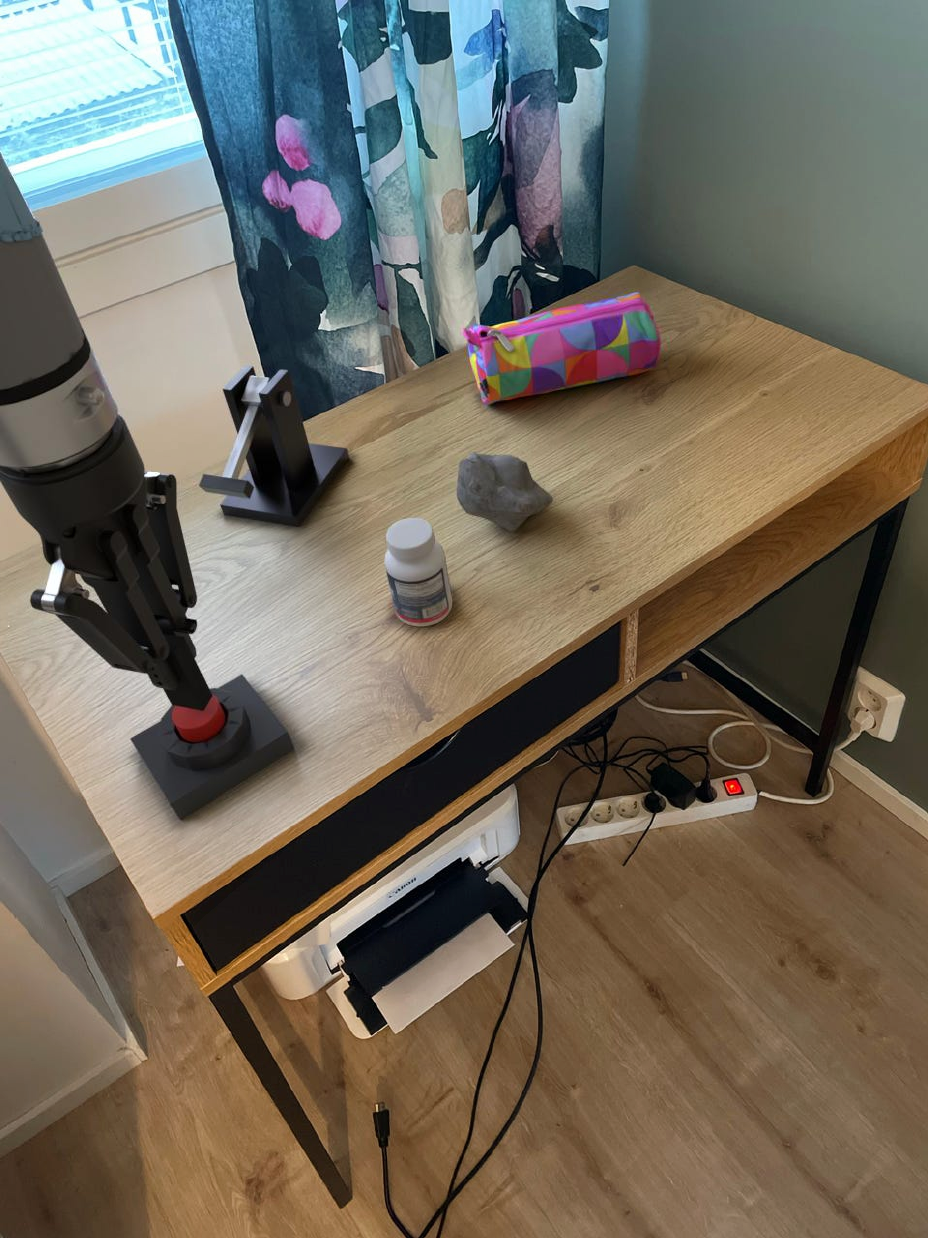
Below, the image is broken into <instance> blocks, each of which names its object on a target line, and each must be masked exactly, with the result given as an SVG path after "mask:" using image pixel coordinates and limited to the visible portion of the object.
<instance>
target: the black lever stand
mask: <svg viewBox="0 0 928 1238" xmlns="http://www.w3.org/2000/svg"><path fill="white" fill-rule="evenodd" d="M250 376H257V374H256V371H255V367H254V365H253V366H252V365H244V366H243V367H242V368H241V369H240V370H239V371H238V372H237V373H236V374H235V375H234V377H232V379H230V381H229V382H228V383H227V384H226V385H225V386H223V388H222V392H223V395H224V398H225V401H226V404H227V407H228V410H229V413H230V416H231V419H232V422H233V426H234V428H235V431H236V433H237V435H238V433H239V430H240V428H241V425H242V422H243V420H244V417H245V414H246V412H247V409H248V408H247V407H246V405H245V404H244V403H243V402H242V401H241V399H242V396H243V394H244V391H245V388H246V386H247V383H248V381H249V378H250ZM291 377H292V376H291V373H290V370H289V369H281V368H280V369H279V370H278V371H277V372H276V374H274V376H273V377H272V378H270V379H271V380H270V381H269V382H268V383H267V385H266V386H265V387H264V388H263V389H262V390H261V391H260V392H259V397H260V400H261V403H262V407H263V410H264V413H265V415H261V418H260V421H259V423H258V426H257V429H256V431H255V434H254V437H253V439H252V442H251V445H250V447H249V450H248V453H247V455H246V458H245V460H246V464H247V466H248V471H247V472H246V473H245V474H244V475H243V476H242V478H241V480H248V481H249V482H250V483H251V484H252V485H253V486H254V489H253V492H252V495H251V497H250V499H247V498H241V497H234V496H228V495H226V496H225V498H224V499H223V501H222V502H221V503H220V504H219V506H220V510H221V512H222V514H223V515H226V516H232V517H238V518H244V519H250V520H255V521H261V522H268V523H272V524H273V523H274V524H279V525H285V526H291V527H297V528H299V527H301V525H302V524H303V522H304V521H305V519H306V518H307V517H308V515H309V514H310V513H311V512H312V510H313V509H314V507H315V506H316V504H317V503H318V502H319V500H320V499H321V498H322V496H323V495H324V494H325V492H326V491H327V489H328V488H329V487H330V485H331V484H332V482H334V480H335V478H336V477H337V476H338V474H339V473H340V472H341V470H342V469H343V468H344V467H345V464H346V463H347V462H348V460H349V459H350V455H349V452H348V451H349V450H348V448H346V447H341V446H334V445H326V444H317V443H310V442H309V439H308V436H307V432H306V429H305V425H304V422H303V418H302V414H301V410H300V406H299V402H298V400H297V396H296V392H295V388H294V385H293V380H292V378H291Z"/></svg>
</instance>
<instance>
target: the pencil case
mask: <svg viewBox="0 0 928 1238" xmlns="http://www.w3.org/2000/svg"><path fill="white" fill-rule="evenodd" d="M461 331H462V335H463V337H464V338H465V340H466V342H467V348H468V349H467V350H468V358H469V364H470V367H471V370H472V373H473V376H474V378H475V381H476V387H477V389H478V391H479V394H480V396H481V401H482V403H484V404H485V405H491V404H494V403H495V402H500V401H511V400H513V399H517V398H518V399H519V398H522V397H529V396H536V395H542V394H543V395H544V394H547V393H548V394H549V393H551V392H554V391H559V390H566V389H571V388H576V387H581V386H585V385H590V384H594V383H600V382H605V381H609V380H614V379H616V378H624V377H628V376H634V375H638V374H643V373H645V372H647V371H651V370H653V369H655V368H656V366H657V365H658V362H659V360H660V356H661V347H662V343H661V342H662V341H661V333H660V330H659V327H658V325H657V322H656V321H655V318H654V314H653V313H652V310H651V308H650V306H649V303H648V302H645V301H644V300H643V296H642V294H641V293H640V292H639V291H636V292H632V293H629V294H625V295H619V296H617V297H612V298H606V299H601V300H599V301H597V302H586V303H580V304H574V305H567V306H564V307H559V308H556V309H552V310H547V311H545V312H541V313H537V314H535V315H531V316H528V317H523V318H520V319H517V320H512V321H507V322H502V323H498V324H495V325H492V326H489V325H485V324H483V325H482V324H474V325H473V324H472V325H471V326H470V327H469V328H468V330H467V328H465V327H463V328H462V329H461Z"/></svg>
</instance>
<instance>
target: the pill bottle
mask: <svg viewBox="0 0 928 1238" xmlns="http://www.w3.org/2000/svg"><path fill="white" fill-rule="evenodd" d="M385 539H386V540H385V541H386V545H387V550H386V552H385V555H384V569H385V573H386V577H387V581H388V587H389V590H390V594H391V600H392V603H393V604H392V605H393V608H394V612H395V614H396V616H397V617H398V619H399V620H400V621H401V622H402V623H405V624H406V625H409V626H413V627H429V626H433V625H435V624H438V623H440V622H441V621H443V620H444V619H445V618H446V617H447V616H448V615H449V614H450V612H451V610H452V608H453V594H452V593H453V592H452V587H451V583H450V578H449V571H448V565H447V559H446V554H445V549H444V547H443V546H442V544H441V543H440V542H439V541H438V540H437V539H436V536H435V531H434V528H433V526H432V524H431V523H430V521H427V520H425V519H424V518H420V517H406V518H403V519H399V520H397V521H395V522H394V523H393V524H392V525H390V526H389V528H388V529H387V531H386V534H385Z"/></svg>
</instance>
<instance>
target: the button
mask: <svg viewBox="0 0 928 1238" xmlns="http://www.w3.org/2000/svg"><path fill="white" fill-rule="evenodd" d="M212 695H213V694H212ZM172 720H173V722H174V724H175V726H176V728H177V729H178V731H179V733H180V735H181V736H182V738H184V739H185V740H187V741H190V742H203V741H206V740H209V739H211V738H212V737H214V736H215V735H217V734H218V733H219V732H220V731H221V729H222V728H223V726H224V723H225V714H224V711H223V709H222V707H221V705H220V703H219V701H218V699H217V698H216V696H214V695H213V696H212V698H211V699H210V701H209V703H208V704H207V706H206V708H205V709H204V711H200V710H195V709H190V708H185V707H180V706H175V707H174V709H173V712H172Z"/></svg>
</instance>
